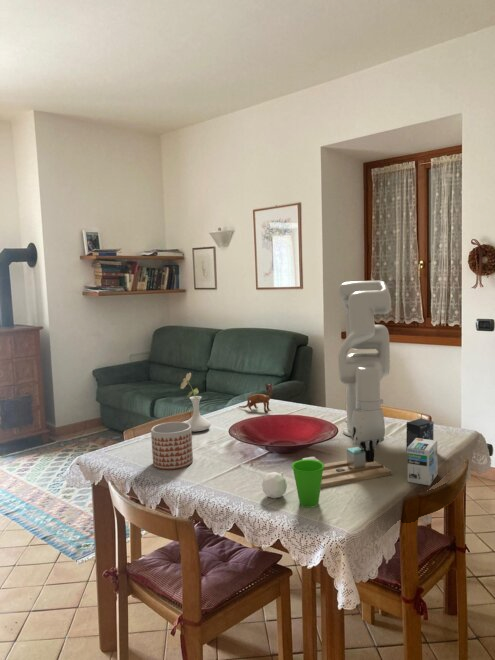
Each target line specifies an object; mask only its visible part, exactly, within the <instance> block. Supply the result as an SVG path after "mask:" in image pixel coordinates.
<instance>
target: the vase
mask: <svg viewBox="0 0 495 660" xmlns="http://www.w3.org/2000/svg"><path fill="white" fill-rule="evenodd" d="M150 435H151V437H150V438H151V449H152V450H151V451H152V464H153V465H152V466H153V467H154V468H157V469H159V470H163V471H164V470H165V471H167V470H169V471H170V470H171V471H172V470H180V469H183V468H186V467H188V466H190V465H191V464H192V463H193V461H194V456H193V454H194V452H193V437H192V431H191V425H190V424H188V423H186V421H185V422H184V421H169V422H168V421H167V422H163V423H159V424H156V425H154V426H152V428H151V429H150Z"/></svg>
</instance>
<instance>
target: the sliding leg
mask: <svg viewBox="0 0 495 660" xmlns="http://www.w3.org/2000/svg"><path fill="white" fill-rule="evenodd" d="M346 460H347V466H349V467H350V468H352V469H358V468H363V467H366V461H365V451H364V449H363V448H362V447H361V448H360V446H355V447H354V446H353V447H349V448H348V447H347V448H346Z"/></svg>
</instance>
